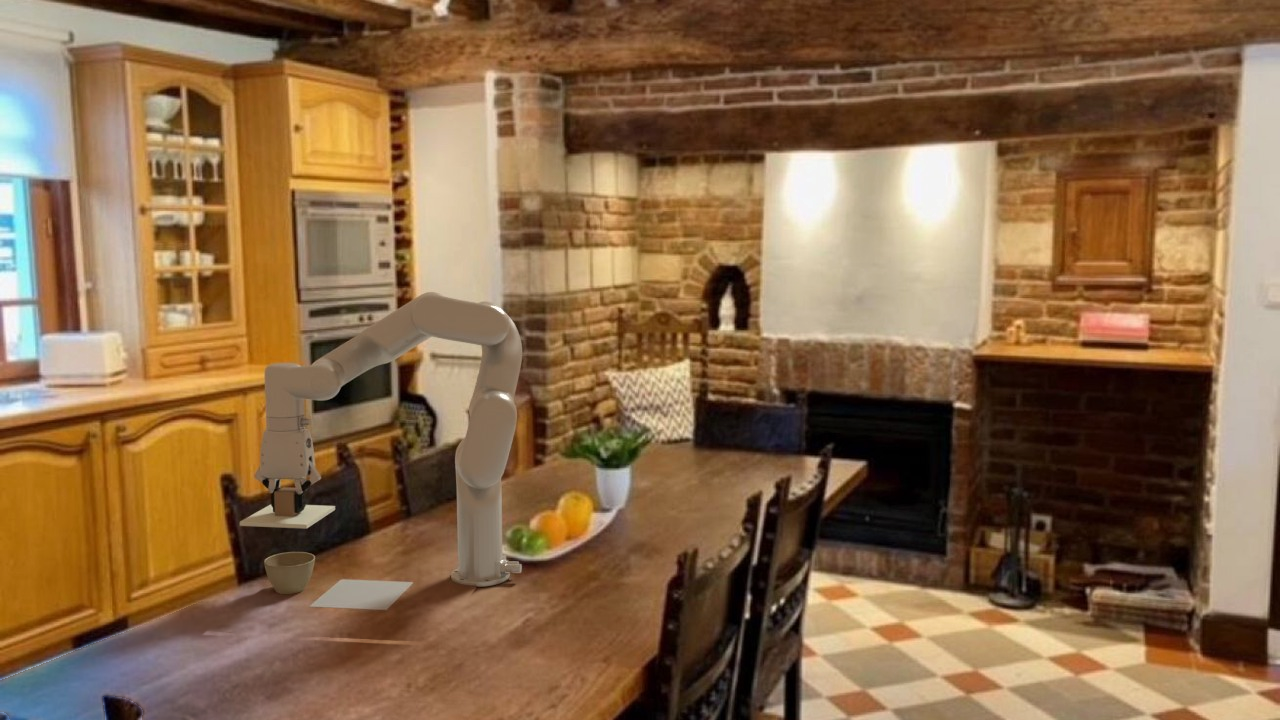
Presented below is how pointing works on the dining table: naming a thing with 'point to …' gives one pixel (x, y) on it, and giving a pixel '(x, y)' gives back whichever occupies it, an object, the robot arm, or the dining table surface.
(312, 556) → the flower pot
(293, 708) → the dining table surface
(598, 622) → the dining table surface
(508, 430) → the robot arm
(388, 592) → the mat
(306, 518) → the lid
